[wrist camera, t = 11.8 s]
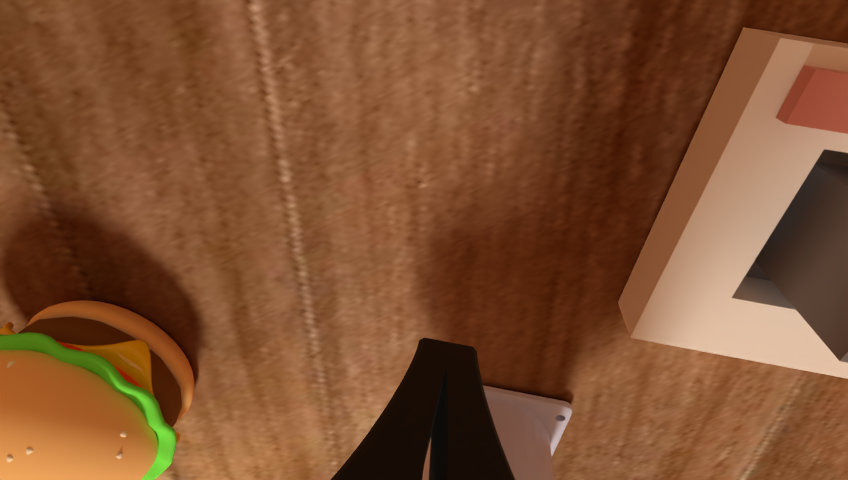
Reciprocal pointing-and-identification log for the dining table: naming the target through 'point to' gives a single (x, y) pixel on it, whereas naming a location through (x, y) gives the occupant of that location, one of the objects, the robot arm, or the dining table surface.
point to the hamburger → (90, 395)
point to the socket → (743, 206)
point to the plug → (815, 255)
